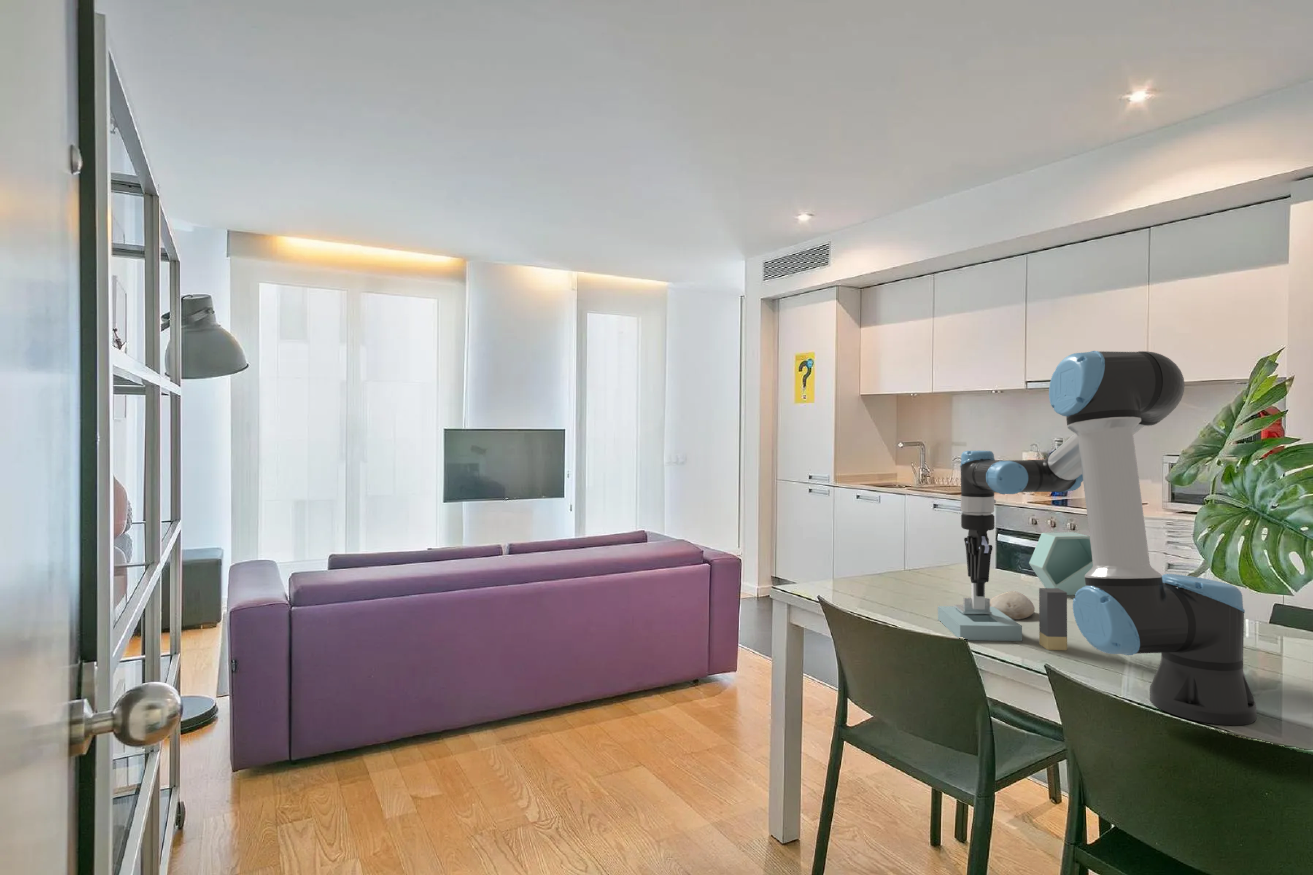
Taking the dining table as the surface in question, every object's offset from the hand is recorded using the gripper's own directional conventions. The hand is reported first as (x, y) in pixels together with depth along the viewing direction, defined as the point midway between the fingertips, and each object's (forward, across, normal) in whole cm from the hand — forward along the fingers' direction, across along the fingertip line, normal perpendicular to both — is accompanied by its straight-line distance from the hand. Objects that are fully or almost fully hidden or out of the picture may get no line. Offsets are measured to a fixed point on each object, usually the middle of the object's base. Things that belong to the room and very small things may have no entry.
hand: (978, 608), depth 178 cm
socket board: (+5, 0, 0) cm, 5 cm away
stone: (+6, +16, -14) cm, 22 cm away
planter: (+6, +42, -40) cm, 58 cm away
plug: (+5, -13, -12) cm, 18 cm away
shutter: (+2, +4, 0) cm, 4 cm away
